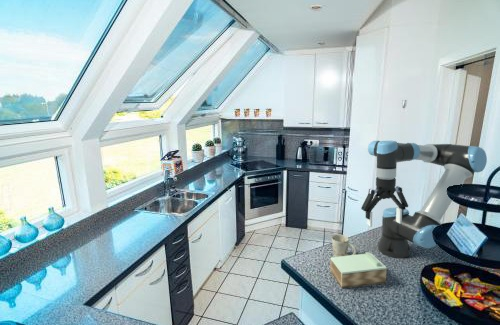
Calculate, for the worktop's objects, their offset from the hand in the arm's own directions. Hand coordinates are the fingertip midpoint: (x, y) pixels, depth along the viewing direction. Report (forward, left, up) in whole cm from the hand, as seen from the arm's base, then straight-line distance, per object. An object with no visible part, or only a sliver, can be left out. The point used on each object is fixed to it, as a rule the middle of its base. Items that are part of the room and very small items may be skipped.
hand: (384, 224), depth 116 cm
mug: (+10, -17, -25) cm, 32 cm away
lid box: (+12, 0, -25) cm, 27 cm away
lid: (+12, 0, -18) cm, 22 cm away
